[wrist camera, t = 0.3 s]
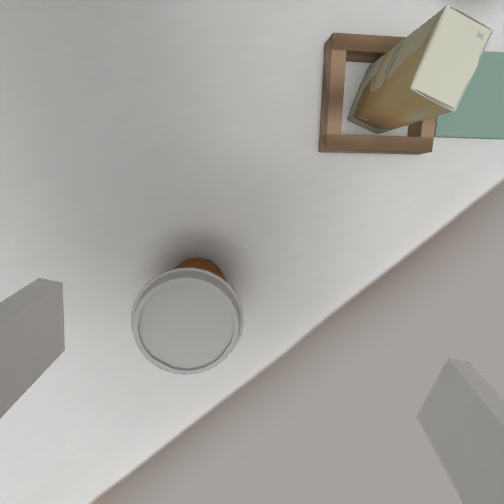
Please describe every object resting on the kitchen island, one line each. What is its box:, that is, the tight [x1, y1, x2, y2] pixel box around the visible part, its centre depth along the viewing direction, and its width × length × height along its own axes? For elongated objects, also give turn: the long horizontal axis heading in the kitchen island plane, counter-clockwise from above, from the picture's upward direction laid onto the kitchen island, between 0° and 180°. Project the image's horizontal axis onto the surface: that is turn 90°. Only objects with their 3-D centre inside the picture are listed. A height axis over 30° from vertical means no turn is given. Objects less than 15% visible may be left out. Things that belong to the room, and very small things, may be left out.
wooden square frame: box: [319, 33, 436, 154], centre depth 33 cm, size 11×12×2 cm
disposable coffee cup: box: [131, 258, 243, 375], centre depth 31 cm, size 10×10×12 cm
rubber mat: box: [434, 51, 504, 139], centre depth 35 cm, size 9×9×1 cm
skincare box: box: [348, 5, 493, 134], centre depth 28 cm, size 6×4×12 cm
